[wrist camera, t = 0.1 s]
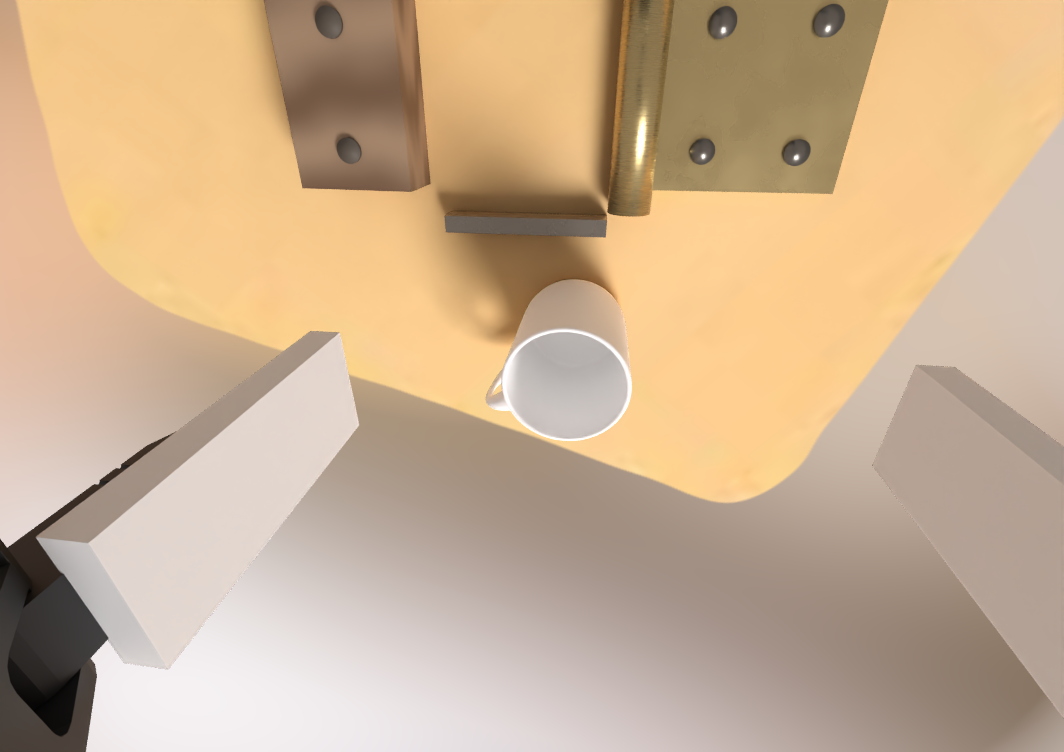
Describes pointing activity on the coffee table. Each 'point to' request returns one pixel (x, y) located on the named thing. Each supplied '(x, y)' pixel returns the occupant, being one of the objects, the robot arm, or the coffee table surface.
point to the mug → (567, 363)
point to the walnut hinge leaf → (352, 92)
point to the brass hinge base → (722, 104)
